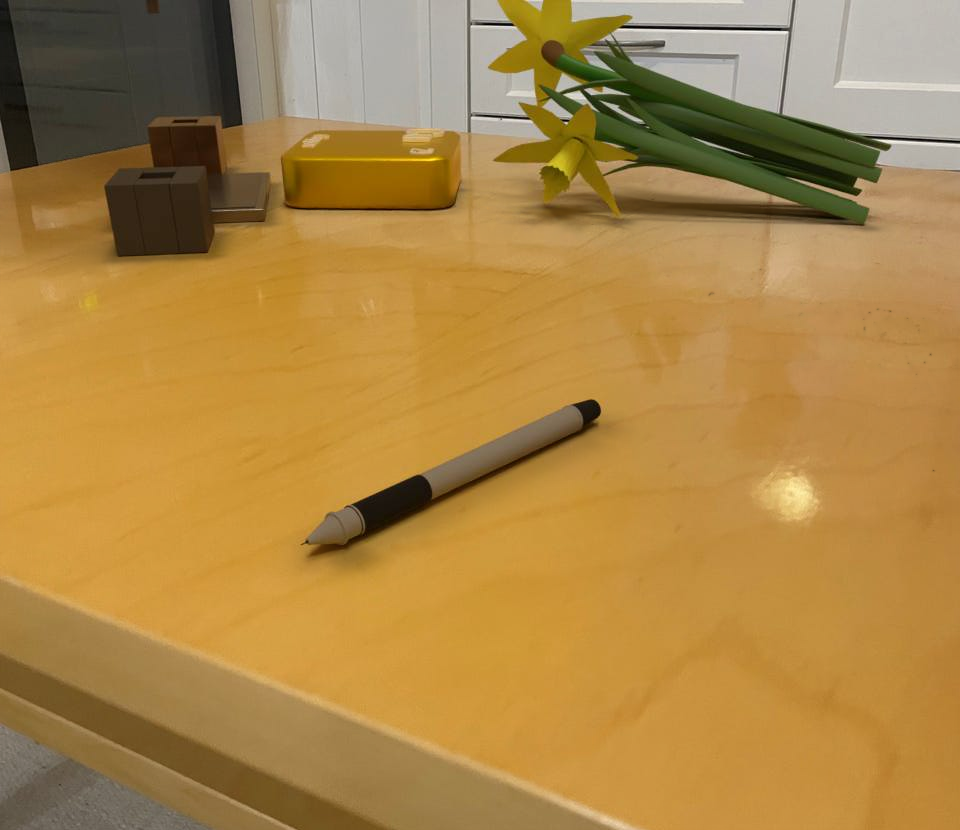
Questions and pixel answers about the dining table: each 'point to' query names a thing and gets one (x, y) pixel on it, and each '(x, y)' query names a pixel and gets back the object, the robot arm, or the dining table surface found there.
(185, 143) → the stand
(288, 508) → the dining table surface
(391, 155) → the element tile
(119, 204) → the holder
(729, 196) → the dining table surface
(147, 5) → the tan wooden bar
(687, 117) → the daffodil flowers
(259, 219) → the tablet
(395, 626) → the dining table surface
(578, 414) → the pen
